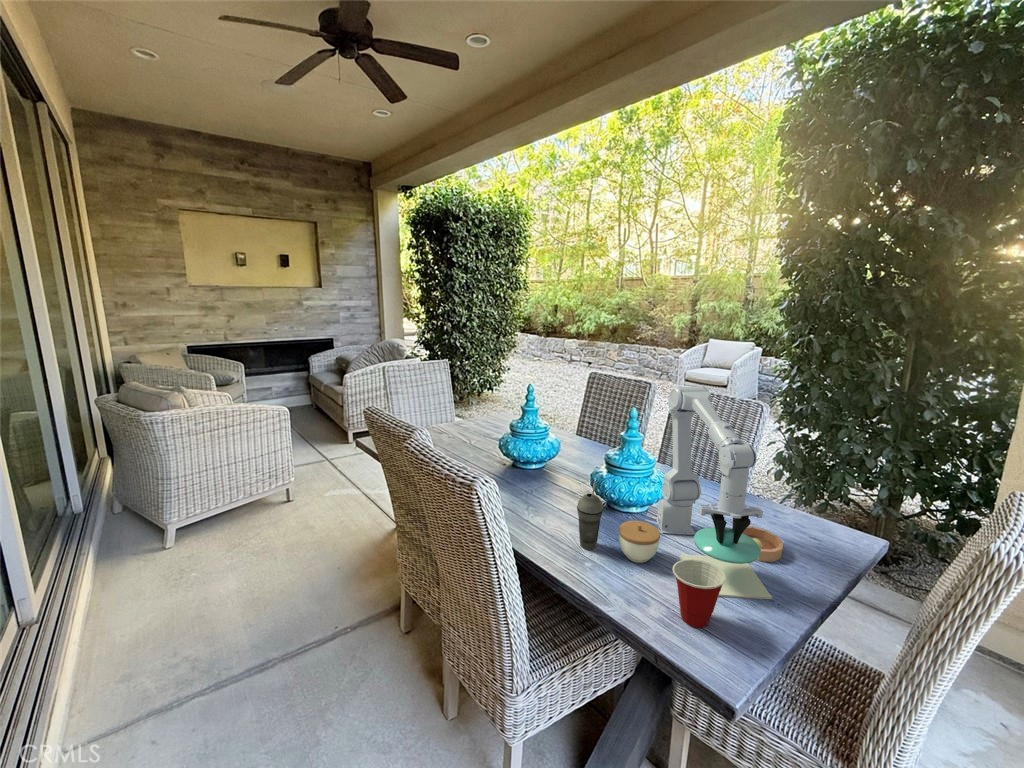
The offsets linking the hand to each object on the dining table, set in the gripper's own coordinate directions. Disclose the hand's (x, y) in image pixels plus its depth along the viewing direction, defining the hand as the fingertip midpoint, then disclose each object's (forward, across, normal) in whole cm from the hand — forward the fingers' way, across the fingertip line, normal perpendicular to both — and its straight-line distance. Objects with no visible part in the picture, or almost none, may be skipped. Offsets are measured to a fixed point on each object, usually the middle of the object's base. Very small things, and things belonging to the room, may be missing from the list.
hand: (726, 541), depth 115 cm
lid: (+1, 0, 0) cm, 1 cm away
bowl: (+10, +14, +14) cm, 22 cm away
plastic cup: (+10, -12, -16) cm, 22 cm away
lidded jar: (+10, -20, +7) cm, 23 cm away
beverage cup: (+10, -33, +11) cm, 36 cm away
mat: (+10, 0, 0) cm, 10 cm away
